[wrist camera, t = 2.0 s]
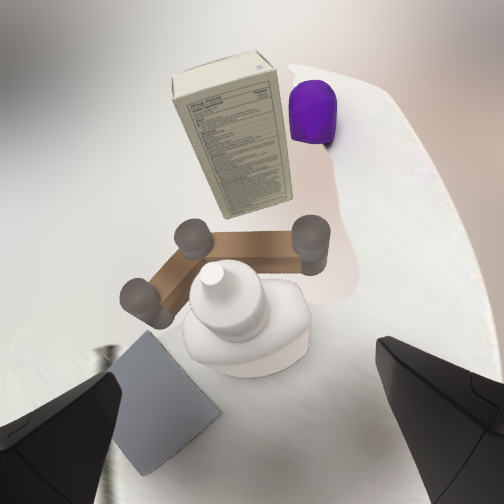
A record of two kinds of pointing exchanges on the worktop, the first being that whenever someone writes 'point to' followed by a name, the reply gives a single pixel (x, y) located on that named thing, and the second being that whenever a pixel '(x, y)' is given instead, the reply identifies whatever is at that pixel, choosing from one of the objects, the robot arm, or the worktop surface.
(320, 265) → the rail
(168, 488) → the worktop surface
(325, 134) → the purple faceted pebble
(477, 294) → the worktop surface
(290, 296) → the eye dropper bottle
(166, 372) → the coaster
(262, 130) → the skincare box
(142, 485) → the worktop surface
